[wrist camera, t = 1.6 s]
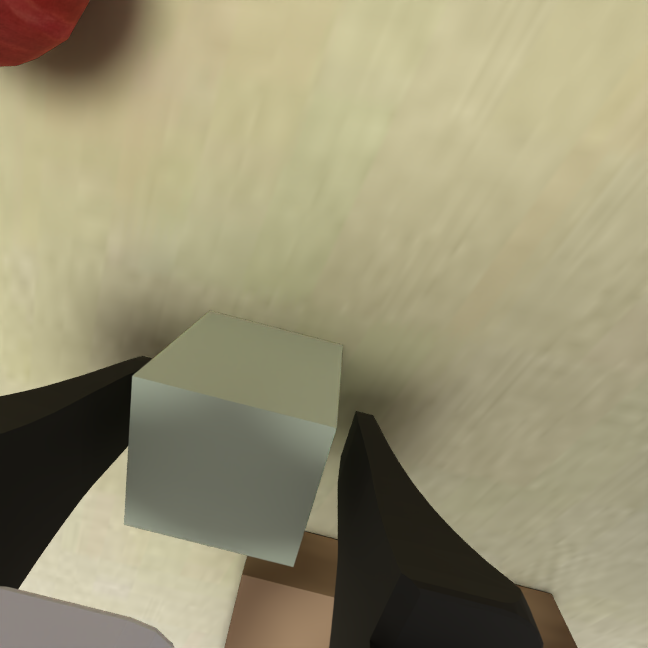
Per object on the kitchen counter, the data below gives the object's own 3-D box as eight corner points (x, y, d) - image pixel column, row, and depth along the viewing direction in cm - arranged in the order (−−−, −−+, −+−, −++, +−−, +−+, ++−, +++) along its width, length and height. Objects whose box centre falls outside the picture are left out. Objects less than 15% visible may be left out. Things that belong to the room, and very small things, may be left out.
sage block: (343, 343, 13) (336, 428, 9) (312, 449, 15) (293, 567, 10) (210, 310, 13) (132, 375, 9) (195, 420, 15) (123, 524, 10)
